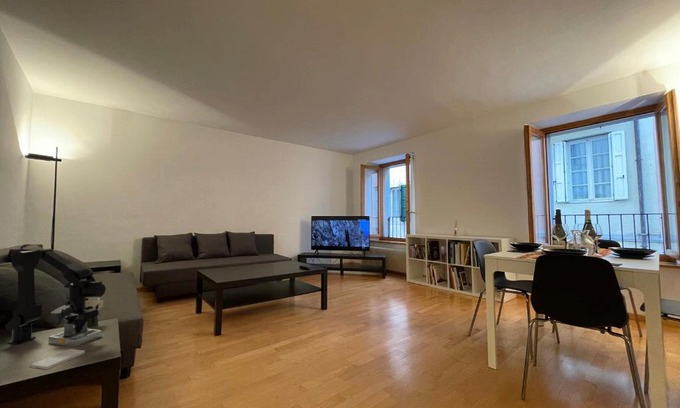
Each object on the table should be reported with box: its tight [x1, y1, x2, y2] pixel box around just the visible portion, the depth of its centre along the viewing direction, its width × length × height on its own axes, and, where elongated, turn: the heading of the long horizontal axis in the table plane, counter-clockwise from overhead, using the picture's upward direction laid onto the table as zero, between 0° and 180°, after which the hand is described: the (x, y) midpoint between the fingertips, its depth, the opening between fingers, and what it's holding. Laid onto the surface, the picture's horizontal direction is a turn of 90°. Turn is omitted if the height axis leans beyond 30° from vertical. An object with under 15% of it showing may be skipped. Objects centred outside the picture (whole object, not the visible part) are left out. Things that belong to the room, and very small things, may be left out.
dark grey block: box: [63, 321, 88, 338], centre depth 125 cm, size 3×7×6 cm, turn 167°
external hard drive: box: [29, 348, 86, 370], centre depth 107 cm, size 2×8×12 cm
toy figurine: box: [85, 297, 104, 328], centre depth 141 cm, size 11×7×13 cm, turn 156°
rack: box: [48, 328, 102, 348], centre depth 124 cm, size 15×11×3 cm
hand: (75, 332), depth 125 cm, fingers closed on dark grey block, 3 cm apart
